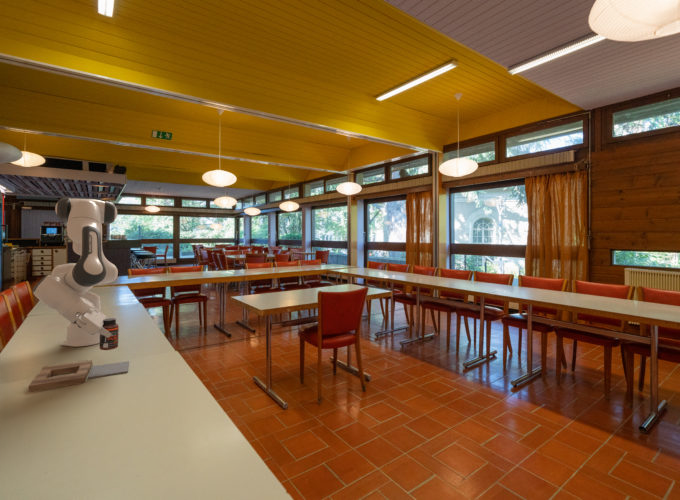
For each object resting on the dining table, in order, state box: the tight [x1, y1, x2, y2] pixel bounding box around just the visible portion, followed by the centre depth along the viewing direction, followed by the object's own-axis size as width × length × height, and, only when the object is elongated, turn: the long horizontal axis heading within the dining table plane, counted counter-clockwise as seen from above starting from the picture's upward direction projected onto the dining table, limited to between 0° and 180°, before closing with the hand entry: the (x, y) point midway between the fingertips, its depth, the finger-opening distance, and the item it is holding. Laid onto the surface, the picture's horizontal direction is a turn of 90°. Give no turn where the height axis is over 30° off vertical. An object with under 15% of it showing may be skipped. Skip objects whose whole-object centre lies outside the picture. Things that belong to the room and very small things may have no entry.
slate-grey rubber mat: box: [87, 360, 130, 380], centre depth 127 cm, size 12×12×1 cm
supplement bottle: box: [99, 317, 120, 351], centre depth 127 cm, size 6×6×11 cm
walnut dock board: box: [28, 359, 93, 393], centre depth 120 cm, size 19×15×2 cm
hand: (111, 333), depth 127 cm, fingers closed on supplement bottle, 6 cm apart
